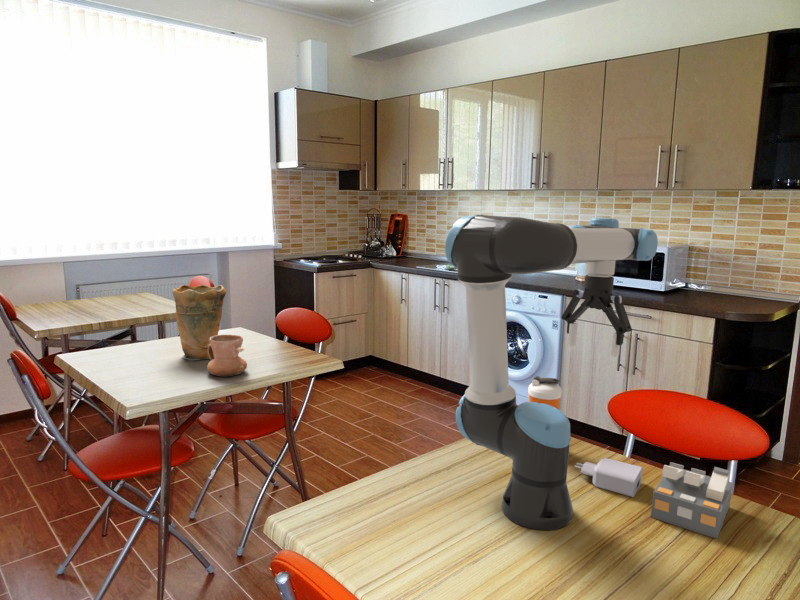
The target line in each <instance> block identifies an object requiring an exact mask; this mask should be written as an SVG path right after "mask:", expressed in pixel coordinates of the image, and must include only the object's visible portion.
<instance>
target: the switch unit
mask: <svg viewBox="0 0 800 600" xmlns="http://www.w3.org/2000/svg"><path fill="white" fill-rule="evenodd" d="M686 471H689V472H691V470H688V469H684V472H683V476H682V477H681V478H679V479H677V480H674V479H670V478H667V477H663V476H662V478H661V480H660V482H659V483H658V484H657V486H656V487H655V489H654V490H653V493H652V501H651V502H652V503H651V511H650V518H653V519H656V520H659V521H662V522H665V523H668V524H671V525H673V526H677V527H680V528H683V529H686V530H688V531H693V532H695V533H698V534H701V535H705V536H708V537H711V538H714V539H718V538H719V535H720V533H721V531H722V527H723V525H724V523H725V520H726V518H727V515H726V514H728V511H729V509H730V506H731V498H732V492H733V482H732V481H728V483H727V486H726V489H725V493H724V496H723V499H722V502H720V501H717V500H714V499H710V498H707V497H706V491H707V487H708V485H709V482H710V479H711V476H709V475H706V476H705V482H704V483H703V484H702V485H700V486H699V487H698V486H695V485H691V484H688V483H684V477H685V474H686ZM723 522H724V523H723Z"/></svg>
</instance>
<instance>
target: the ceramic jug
mask: <svg viewBox="0 0 800 600" xmlns="http://www.w3.org/2000/svg"><path fill="white" fill-rule="evenodd" d="M243 342H244V337H243V336H242V335H240V334H239V335H238V334H237V335H236V334H218V335H215V336H213V337H210V344H209V346H208V355H209V358H208V359H209V360H210V361H209V362H208V364H207V366H206V368H207V371H208V372H209V373H210V374H211V375H214V376H217V377H233V376H237V375H240V374H242V373H243V372H245V370H247V367H248V363H247V361H246V360H245V359H244V358H242V357H241V356H239V353H241V352H243V351H245V348H243V347H242V346H243ZM212 350H213V351H212ZM213 352H214V354H215V357H214V355H213Z"/></svg>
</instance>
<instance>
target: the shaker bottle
mask: <svg viewBox="0 0 800 600" xmlns="http://www.w3.org/2000/svg"><path fill="white" fill-rule="evenodd" d="M560 382H561V381H560V379H558V378H556V377H555V378H553V377H540V376H539V375H535V376H533V378H532V381H531V383H530V384H529V385H528V389H527V395H528V402H537V403H539V404H541V403H543V404H547V405H550V406H552V407H555V408H557V409H559V410H560V404H561V399H562V394H563V393H562V392H563V390H562V388H561V386H560V385H559V383H560Z"/></svg>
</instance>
